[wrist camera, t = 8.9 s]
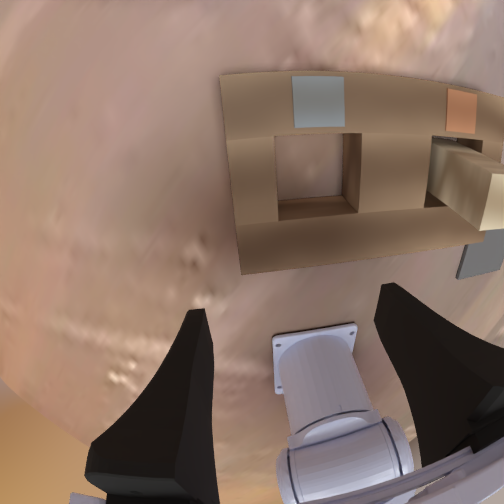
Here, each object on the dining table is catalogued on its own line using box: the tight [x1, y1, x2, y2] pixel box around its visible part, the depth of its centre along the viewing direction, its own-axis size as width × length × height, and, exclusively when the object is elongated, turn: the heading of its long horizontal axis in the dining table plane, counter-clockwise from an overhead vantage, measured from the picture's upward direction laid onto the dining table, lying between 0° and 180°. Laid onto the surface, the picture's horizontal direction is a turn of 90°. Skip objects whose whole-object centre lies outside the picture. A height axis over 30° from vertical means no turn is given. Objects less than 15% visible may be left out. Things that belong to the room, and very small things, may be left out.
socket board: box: [219, 71, 504, 275], centre depth 18 cm, size 12×20×3 cm, turn 94°
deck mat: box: [456, 229, 504, 280], centre depth 25 cm, size 7×7×1 cm
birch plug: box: [426, 138, 504, 231], centre depth 17 cm, size 3×3×8 cm
